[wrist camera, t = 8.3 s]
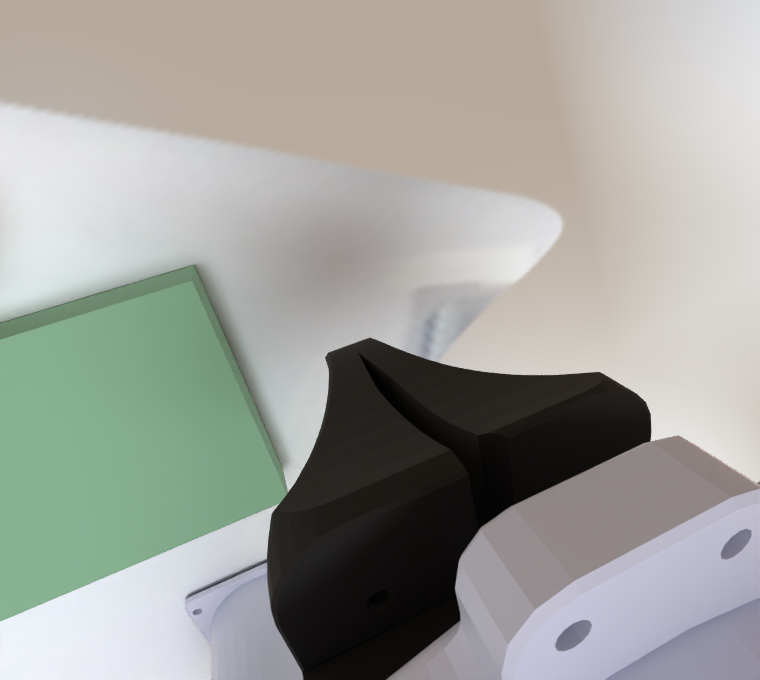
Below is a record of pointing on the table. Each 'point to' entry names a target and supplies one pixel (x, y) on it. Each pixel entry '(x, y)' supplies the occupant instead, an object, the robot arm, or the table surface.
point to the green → (121, 436)
